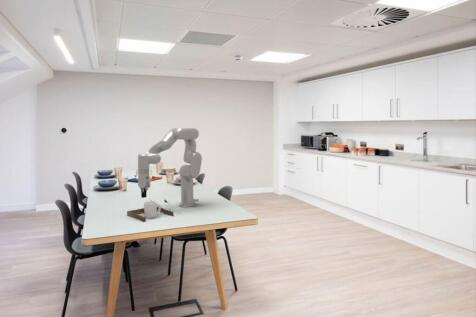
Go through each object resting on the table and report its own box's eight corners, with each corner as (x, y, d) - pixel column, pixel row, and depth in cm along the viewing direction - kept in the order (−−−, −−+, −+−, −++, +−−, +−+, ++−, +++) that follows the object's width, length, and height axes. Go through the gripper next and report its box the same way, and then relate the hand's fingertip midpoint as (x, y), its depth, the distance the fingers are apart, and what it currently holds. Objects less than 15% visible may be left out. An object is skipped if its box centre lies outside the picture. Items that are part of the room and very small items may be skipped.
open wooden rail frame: (155, 210, 270) (155, 206, 270) (173, 215, 252) (173, 211, 252) (127, 215, 255) (127, 211, 255) (144, 222, 237) (144, 217, 237)
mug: (157, 214, 258) (157, 199, 257) (163, 216, 252) (163, 201, 251) (142, 217, 250) (141, 202, 249) (148, 219, 244) (147, 204, 243)
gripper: (153, 172, 253) (154, 198, 254) (143, 170, 264) (143, 195, 265) (144, 172, 248) (144, 199, 249) (133, 170, 259) (133, 196, 260)
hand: (143, 197), depth 257 cm, fingers closed
